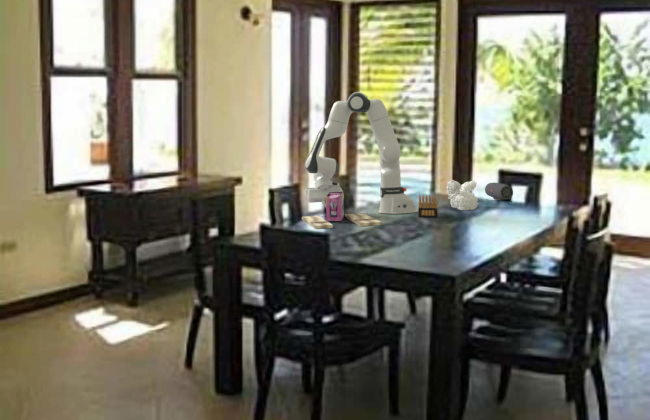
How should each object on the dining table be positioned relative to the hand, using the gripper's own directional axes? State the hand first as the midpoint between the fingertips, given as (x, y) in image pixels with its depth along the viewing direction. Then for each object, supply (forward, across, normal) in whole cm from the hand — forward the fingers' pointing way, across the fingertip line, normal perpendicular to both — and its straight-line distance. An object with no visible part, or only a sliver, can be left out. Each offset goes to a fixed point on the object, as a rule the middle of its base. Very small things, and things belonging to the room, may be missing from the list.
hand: (327, 206), depth 496 cm
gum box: (+14, +1, -6) cm, 16 cm away
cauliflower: (+4, +78, +4) cm, 78 cm away
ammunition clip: (+26, +48, -18) cm, 57 cm away
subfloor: (+24, +1, -16) cm, 29 cm away
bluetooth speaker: (-18, +112, +26) cm, 116 cm away
